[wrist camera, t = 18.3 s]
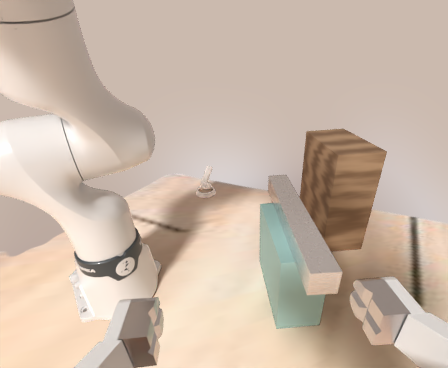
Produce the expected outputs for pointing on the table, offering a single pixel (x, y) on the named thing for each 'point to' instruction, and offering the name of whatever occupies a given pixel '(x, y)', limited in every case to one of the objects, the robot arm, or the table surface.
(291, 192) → the rail
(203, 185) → the hook
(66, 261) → the table surface
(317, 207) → the stand
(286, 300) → the mint green rectangular block
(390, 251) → the table surface
